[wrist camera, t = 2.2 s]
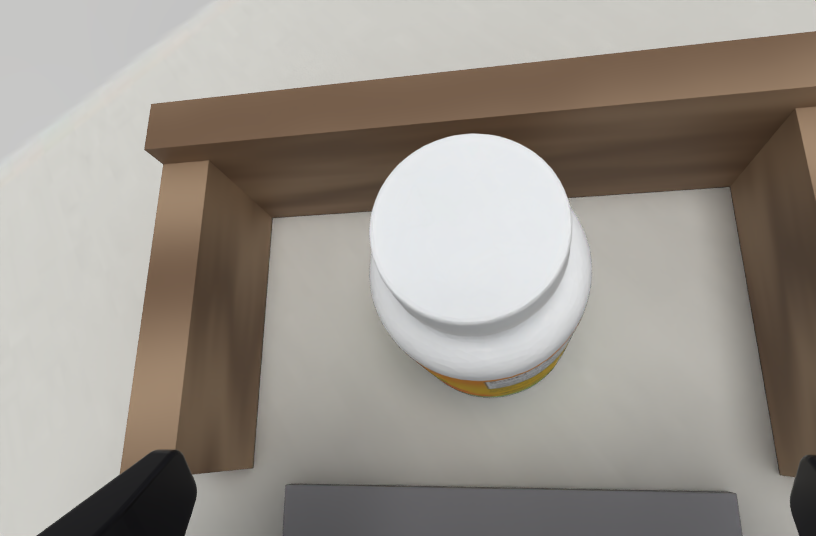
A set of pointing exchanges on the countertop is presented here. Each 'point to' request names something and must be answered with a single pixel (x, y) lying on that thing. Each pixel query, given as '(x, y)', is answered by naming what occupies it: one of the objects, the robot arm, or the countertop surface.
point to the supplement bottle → (478, 263)
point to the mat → (505, 511)
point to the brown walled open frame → (455, 115)
